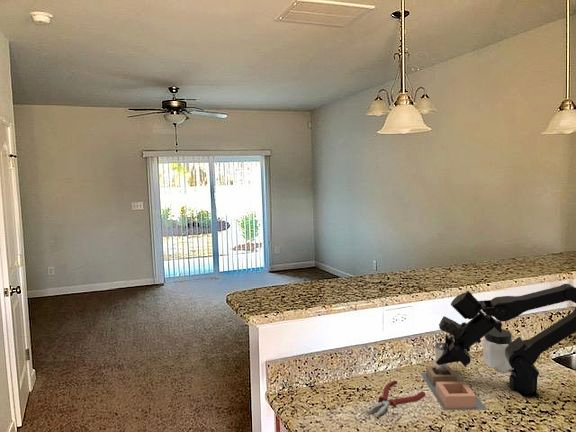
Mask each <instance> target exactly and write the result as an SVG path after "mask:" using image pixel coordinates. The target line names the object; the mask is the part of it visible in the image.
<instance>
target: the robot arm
mask: <svg viewBox="0 0 576 432" xmlns="http://www.w3.org/2000/svg"><path fill="white" fill-rule="evenodd" d="M569 301H570V302H572V303H574V304H576V287H575V286H574V285H572V284H570V283H563V284H561V285H558V286H554V287H550V288H547V289H542V290H538V291H536V292H535V291H533V292H531V293H527V294H523V295H506V296H503V295H502V296H496V297H493V298H491V299H487V300H486V299H485V300H478V299H477V297H475V296H474V295H473V294H472V292H470V290H466V291H465V292H463V293H461V294H458V295H457V296H456V297H454V298H453V299H452V301H451V302H450V306H452V308H453V309H454V310H455V311H456V312H457V313H458V314H459V315H460V316H461V317H462V318H464V319H465V320H466V319H468V320H469V321H468V322H466V321H465V322H462V323H458V322H457V321H455V320H453V319H452V318H451V319H450V318H449V317H447V316H445V315H444V316H442V318H441V320H440V322H439V324H438V326H439V327H438V328H439V330H440V331H442V332H446V333H445V334H444V343H446V344H447V350H446V351H445V352H444V353H443V354H442V356H441V357H440V358H439V359H438V360H437V361H436V363H437V364H438V365H442V364H447V363H448V364H452V363H458V362H460V363H461V364H462V365H463V366H464V367H466V366H468V365H469V364H470V363H471V356H470V353H469V352H470V351H471V347H472V346H474V345H475V344H476V343H477V344H480V343H481V342H482V340H481V339H482V338H484V337H485V335H486V334H487V333H489V332H490V331H491V330H492V329H494V328H495V329H496V330H497V331H499V332H500V333H501V332H502V329H503V328H502V327H503V323H502V322H508V321H510V320H512V319H515V318H517V317H519V316H520V315H522V314H523V313H525V312H528V311H531V310H536V309H540V308H544V307H549V306H552V305H557V304H561V303H565V302H569ZM575 333H576V307H575V308H574V309H573V310H572V312H570V313H569V314H567V315H566V316H564V317H563V318H561V319H559V320H557V321H556V322H554V323H553V324H551V325H550V326H548V327H547V328H545V329H544V330H542V331H541V332H539V333H536V334H535V335H534V336H532V337H531V338H528V339H522V337H521V336H518V337H517V338H516V339H514V340H512V342H510V343H508V346H507V347H506V349H505V356H506V358H507V360H508V362H509V364H510V366H511V367H512V369H510V371H511V372H510V375H509V376H508V377H509V380H508V388H509V389H510V390H511V391H513V392H516V393H518V394H520V396H522V397H523V398H536V397H537V398H540V396H541V394H540V393H539V392H538V378H539V375H540V372H539V370H538V369H537V367H536V366H535V363H536V362H537V361H538V359H539V357H540V355H542V354H543V353H544V352H545V351H548V350H549V349H550V348H552V347H554V346H556V344H559V343H560V342H562V341H563V340H565V339H567V338H568V337H570V336H572V335H573V334H575ZM447 334H448V335H447Z"/></svg>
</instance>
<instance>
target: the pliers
mask: <svg viewBox="0 0 576 432" xmlns="http://www.w3.org/2000/svg"><path fill="white" fill-rule="evenodd" d="M397 384H398V381H397V380H392V381H390V382H388V383H387V384H386V385H385V386H384V389H383V394H382V395H381V396H378V402H377V403H376V404H375V405H374V406H373V407H371V408H370V410H368V411H367V412H366V415H369V414H373V413H376V415H375V416H374V418H378V417H380V416H381V415H384V414H386V413H387V412H388V410H389V408H388V407H389V406H392V407H393V408H397V405H403V404H404V405H405V404H409V403H410V404H411V403H415V402H418V401H420V400H423V398H424V397H425V396H426V392H424V391H423V390H421V391H420V392H419V393H417V394H416V395H412V396H407V397H400V398H394V399H392V398H391V399H388V398H389V397H388V396H389V392H390V388H392V387H394V386H395V385H397Z"/></svg>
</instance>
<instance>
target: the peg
mask: <svg viewBox="0 0 576 432" xmlns="http://www.w3.org/2000/svg"><path fill="white" fill-rule="evenodd" d="M434 350H435V356H434V357H435V359H434V360H435V361H434V363H435V364H434V366H435V374H436V375H447V367H448V366H449V365H448V364H449V363H447V364H442V365H438V364H437V363H436V361H437V360H438V359H439V358H440V357H441V356H442V354H443V353H444V352H445V351H446V350H447V344H446V343H445V342H436V343H435V349H434Z"/></svg>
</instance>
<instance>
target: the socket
mask: <svg viewBox="0 0 576 432" xmlns="http://www.w3.org/2000/svg"><path fill="white" fill-rule="evenodd" d="M465 382H466V381H465V380H464V381H455V382H436V395H437V396H438V398H439V399H440V401H441V402H442V404H443V406H444V407H445V409H448V408H476V396H477V394H476V393H475V392H474V391H473V389H470V388H471V387H470V385H468V384H467V382H466V383H465ZM469 387H470V388H469ZM473 392H474V393H475V394H474V393H473Z"/></svg>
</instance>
